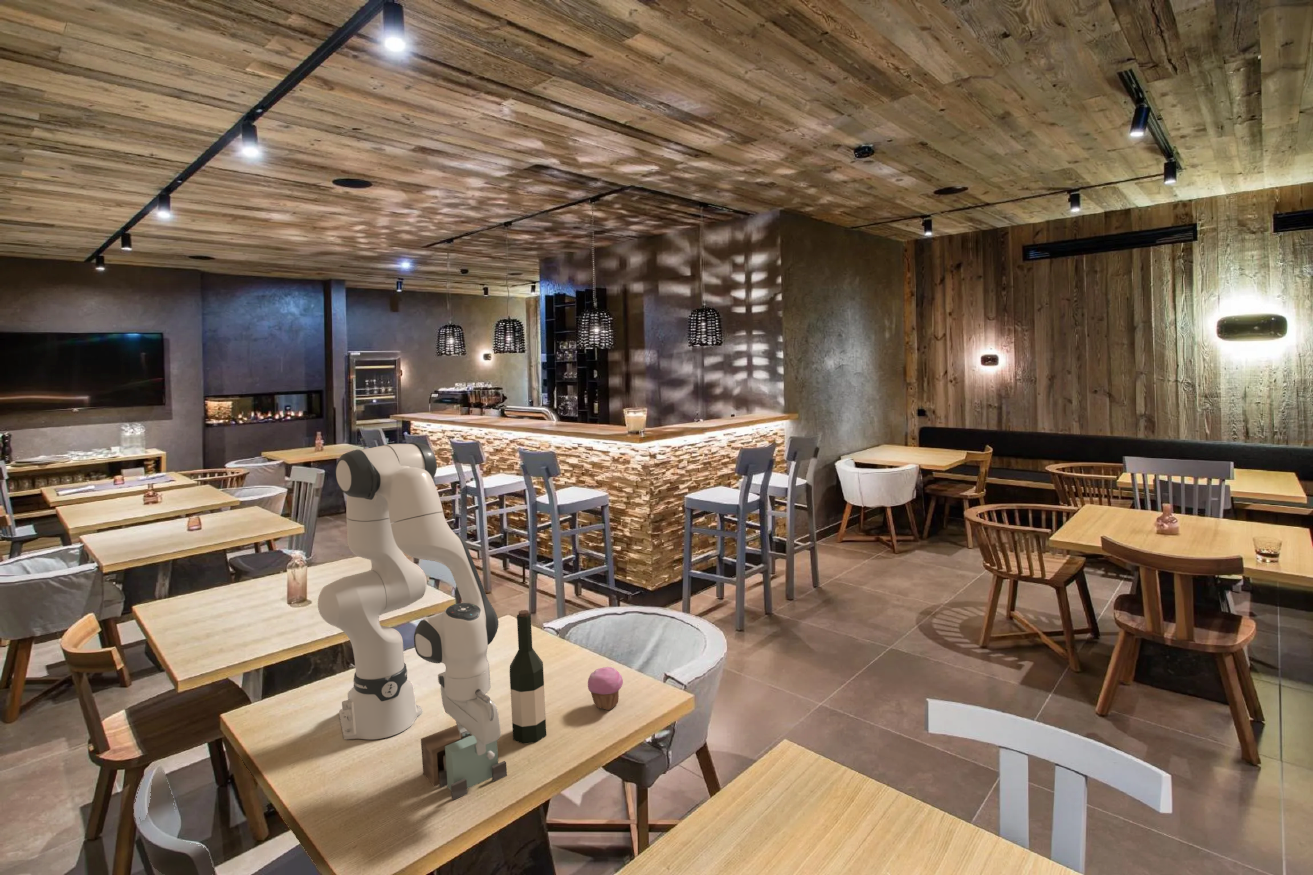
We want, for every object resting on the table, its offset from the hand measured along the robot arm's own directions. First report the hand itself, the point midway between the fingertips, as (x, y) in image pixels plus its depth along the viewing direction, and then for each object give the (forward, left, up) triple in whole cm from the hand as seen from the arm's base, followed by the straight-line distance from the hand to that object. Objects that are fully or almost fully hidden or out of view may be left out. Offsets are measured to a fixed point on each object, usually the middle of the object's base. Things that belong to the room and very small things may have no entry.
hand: (472, 746), depth 141 cm
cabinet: (-4, 0, -8) cm, 9 cm away
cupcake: (-6, +39, -8) cm, 40 cm away
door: (-1, 0, -8) cm, 8 cm away
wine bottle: (-8, +18, -8) cm, 21 cm away
